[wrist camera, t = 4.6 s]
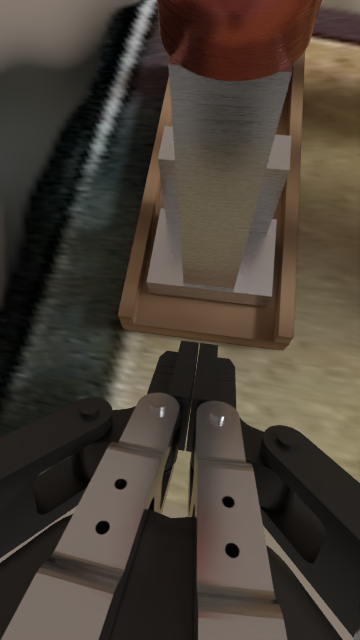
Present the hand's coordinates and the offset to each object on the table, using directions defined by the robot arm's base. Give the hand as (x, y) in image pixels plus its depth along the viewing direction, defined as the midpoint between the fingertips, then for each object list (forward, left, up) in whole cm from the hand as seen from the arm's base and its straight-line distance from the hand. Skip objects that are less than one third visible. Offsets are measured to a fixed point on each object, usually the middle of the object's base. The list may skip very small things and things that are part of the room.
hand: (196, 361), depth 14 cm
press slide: (-3, -7, -5) cm, 9 cm away
